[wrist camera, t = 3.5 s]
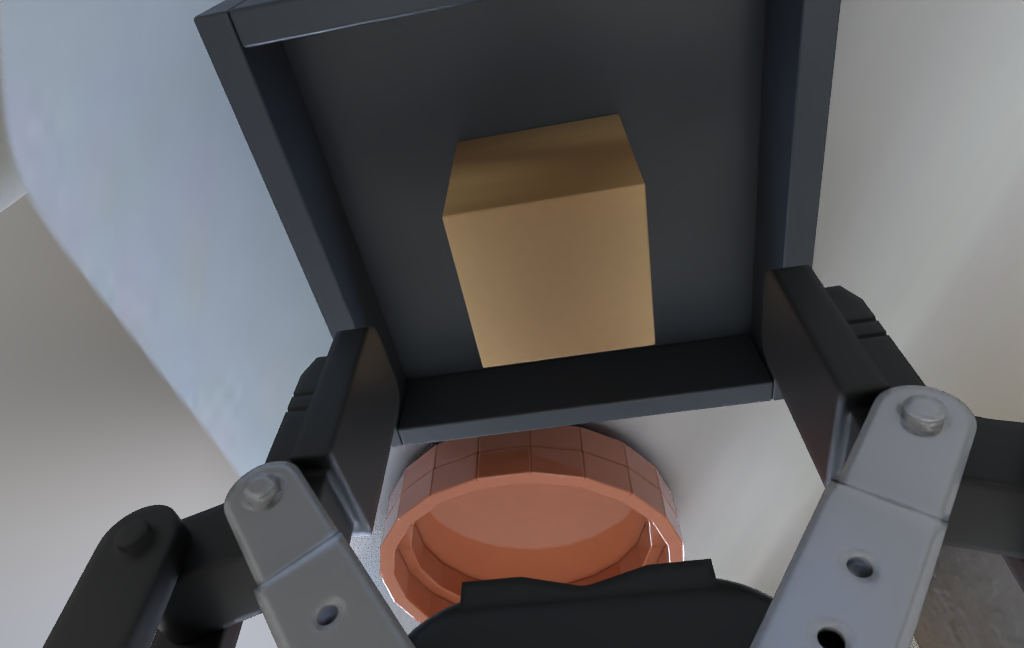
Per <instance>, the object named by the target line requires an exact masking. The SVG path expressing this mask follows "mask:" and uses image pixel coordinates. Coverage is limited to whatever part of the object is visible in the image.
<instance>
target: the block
mask: <svg viewBox="0 0 1024 648" xmlns="http://www.w3.org/2000/svg"><path fill="white" fill-rule="evenodd" d="M442 219H443V223H444V226H445V230H446V234H447V237H448V241H449V245H450V248H451V252H452V256H453V259H454V263H455V267H456V270H457V274H458V278H459V281H460V285H461V289H462V292H463V296H464V300H465V303H466V307H467V311H468V314H469V318H470V322H471V325H472V329H473V333H474V336H475V340H476V344H477V347H478V351H479V355H480V358H481V362H482V366H483V367H484V368H486V367H493V366H500V365H508V364H515V363H523V362H530V361H537V360H545V359H552V358H559V357H567V356H574V355H582V354H589V353H596V352H604V351H611V350H618V349H626V348H633V347H641V346H648V345H654V344H655V330H654V315H653V300H652V284H651V269H650V253H649V238H648V222H647V207H646V192H645V183H644V181H643V178H642V175H641V172H640V170H639V167H638V164H637V162H636V159H635V156H634V154H633V151H632V148H631V146H630V143H629V140H628V138H627V135H626V132H625V129H624V127H623V124H622V121H621V119H620V116H619V114H614V115H608V116H602V117H597V118H591V119H585V120H580V121H574V122H568V123H563V124H557V125H551V126H546V127H540V128H534V129H528V130H523V131H517V132H511V133H506V134H500V135H494V136H489V137H483V138H477V139H472V140H466V141H460V142H457V145H456V150H455V155H454V160H453V165H452V170H451V175H450V180H449V185H448V190H447V195H446V200H445V206H444V211H443V216H442Z"/></svg>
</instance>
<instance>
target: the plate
mask: <svg viewBox="0 0 1024 648" xmlns="http://www.w3.org/2000/svg"><path fill="white" fill-rule="evenodd" d="M682 561H684V544H683V539H682V535H681V531H680V527H679V523H678V519H677V514H676V510H675V506H674V501H673V497H672V494H671V492H670V490H669V488H668V487H667V485H666V483H665V482H664V480H663V478H662V477H661V475H660V473H659V472H658V470H657V468H656V467H655V466H654V465H653V464H652V463H650V462H649V461H648V460H646V459H645V458H644V457H642V456H641V455H640V454H638V453H637V452H635V451H634V450H633V449H631V448H630V447H629V446H627V445H626V444H625V443H623V442H622V441H619V440H616V439H614V438H611V437H608V436H605V435H602V434H600V433H597V432H594V431H591V430H588V429H586V428H583V427H577V426H560V427H552V428H544V429H536V430H528V431H519V432H511V433H503V434H495V435H487V436H479V437H471V438H463V439H455V440H447V441H445V442H442V443H440V444H438V445H435V446H434V447H432V448H431V449H430V450H429V451H427V452H426V453H425V454H423V455H422V456H421V457H420V458H418V459H417V460H416V461H414V462H413V463H412V464H411V465H409V466H408V467H407V468H406V469H405V471H404V472H403V474H402V476H401V478H400V479H399V481H398V483H397V485H396V486H395V488H394V490H393V492H392V493H391V495H390V499H389V504H388V509H387V514H386V519H385V525H384V530H383V535H382V540H381V545H380V576H381V578H382V580H383V582H384V584H385V586H386V587H387V589H388V591H389V593H390V595H391V597H392V599H393V600H394V602H395V603H396V604H398V605H399V606H400V607H401V608H402V609H403V610H405V611H406V612H407V613H408V614H409V615H411V616H412V617H413V618H414V619H415V620H416V621H418V622H420V623H422V622H424V621H425V620H426V619H428V618H429V617H431V616H432V615H434V614H436V613H437V612H439V611H441V610H443V609H445V608H447V607H449V606H451V605H453V604H456V603H459V602H460V598H461V586H462V582H468V581H479V580H490V579H500V578H511V577H527V578H533V579H540V580H546V581H553V582H559V583H566V584H572V585H580V586H584V585H590V584H593V583H596V582H599V581H602V580H605V579H608V578H611V577H613V576H616V575H619V574H622V573H625V572H628V571H631V570H634V569H637V568H639V567H642V566H645V565H650V564H661V563H671V562H682Z"/></svg>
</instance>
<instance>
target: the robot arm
mask: <svg viewBox="0 0 1024 648" xmlns="http://www.w3.org/2000/svg"><path fill="white" fill-rule="evenodd" d="M762 344H763V350H764V354H765V358H766V360H767V363H768V365H769V367H770V370H771V372H772V374H773V376H774V378H775V380H776V382H777V385H778V387H779V389H780V391H781V393H782V395H783V398H784V400H785V402H786V404H787V406H788V408H789V411H790V413H791V415H792V417H793V419H794V421H795V423H796V426H797V428H798V430H799V432H800V434H801V436H802V439H803V441H804V443H805V445H806V447H807V449H808V452H809V454H810V456H811V458H812V460H813V462H814V464H815V467H816V469H817V471H818V473H819V475H820V477H821V480H822V482H823V484H824V486H825V490H824V492H823V494H822V497H821V499H820V501H819V503H818V505H817V507H816V509H815V511H814V513H813V516H812V518H811V520H810V522H809V524H808V526H807V528H806V530H805V532H804V534H803V537H802V539H801V541H800V543H799V545H798V547H797V549H796V551H795V553H794V555H793V558H792V560H791V562H790V564H789V566H788V568H787V570H786V572H785V574H784V577H783V579H782V581H781V583H780V585H779V587H778V589H777V591H776V593H775V595H774V598H773V597H771V596H769V595H767V594H765V593H763V592H761V591H759V590H756V589H754V588H751V587H748V586H746V585H743V584H739V583H736V582H732V581H728V580H723V579H717V578H716V577H715V573H714V569H713V565H712V561H711V559H703V560H693V561H682V562H671V563H661V564H650V565H645V566H642V567H639V568H637V569H634V570H631V571H628V572H625V573H622V574H619V575H616V576H613V577H611V578H608V579H605V580H602V581H599V582H596V583H593V584H590V585H584V586H580V585H572V584H566V583H559V582H553V581H546V580H540V579H533V578H527V577H511V578H500V579H490V580H479V581H468V582H462V586H461V598H460V602H459V603H456V604H453V605H451V606H449V607H447V608H445V609H443V610H441V611H439V612H437V613H436V614H434V615H432V616H431V617H429V618H428V619H426V620H425V621H424V622H422V623H421V624H420V625H419V626H417V627H416V628H415V629H414V630H413V631H412V632H411V633H410V634H409V635H407V634H406V632H405V631H404V629H403V627H402V626H401V624H400V623H399V621H398V620H397V618H396V617H395V615H394V613H393V612H392V610H391V609H390V607H389V606H388V604H387V603H386V601H385V599H384V598H383V596H382V595H381V593H380V592H379V590H378V589H377V587H376V585H375V584H374V582H373V581H372V579H371V578H370V576H369V575H368V573H367V571H366V570H365V568H364V567H363V565H362V564H361V562H360V561H359V559H358V557H357V556H356V554H355V553H354V551H353V550H352V548H351V547H350V545H349V544H350V540H351V537H359V536H369V535H372V531H373V526H374V521H375V517H376V512H377V507H378V503H379V498H380V494H381V489H382V484H383V480H384V475H385V470H386V466H387V461H388V457H389V452H390V447H391V443H392V438H393V433H394V429H395V424H396V420H397V415H398V410H399V389H398V384H397V380H396V378H395V375H394V372H393V370H392V367H391V365H390V362H389V360H388V357H387V354H386V352H385V349H384V347H383V344H382V342H381V339H380V337H379V334H378V332H377V330H376V329H375V328H374V327H372V326H371V327H364V328H357V329H350V330H343V331H338V332H337V333H336V334H335V337H334V339H333V342H332V345H331V347H330V350H329V353H328V355H327V356H326V357H319V358H316V359H315V361H314V362H313V363H312V364H311V365H310V366H309V367H308V368H307V369H306V370H305V371H304V373H303V374H302V375H301V377H300V379H299V382H298V384H297V386H296V389H295V391H294V397H292V399H291V401H290V403H289V406H288V408H287V409H288V412H286V413H285V416H284V418H283V421H282V423H281V425H280V428H279V430H278V433H277V435H276V438H275V440H274V442H273V445H272V447H271V450H270V452H269V455H268V457H267V459H266V462H265V464H263V465H260V466H258V467H256V468H254V469H252V470H251V471H249V472H247V473H246V474H245V475H243V476H242V477H241V478H240V479H239V480H238V481H237V482H236V483H235V484H234V485H233V487H232V488H231V489H230V491H229V492H228V494H227V496H226V499H225V503H223V504H221V505H218V506H216V507H213V508H211V509H208V510H206V511H203V512H200V513H197V514H195V515H192V516H190V517H187V518H184V519H182V520H181V519H180V518H179V516H178V515H177V514H176V513H175V511H174V510H173V509H171V508H170V507H168V506H165V505H153V506H148V507H144V508H142V509H139V510H137V511H135V512H132V513H131V514H129V515H127V516H126V517H124V518H123V519H121V520H120V521H119V522H117V523H116V524H115V525H114V526H113V527H112V528H111V529H110V530H109V531H108V532H107V533H106V534H105V535H104V537H103V538H102V539H101V541H100V543H99V544H98V546H97V548H96V549H95V551H94V553H93V555H92V557H91V559H90V561H89V563H88V564H87V566H86V568H85V570H84V572H83V574H82V575H81V577H80V579H79V581H78V583H77V585H76V587H75V589H74V590H73V592H72V594H71V596H70V598H69V600H68V601H67V604H66V605H65V607H64V609H63V611H62V613H61V614H60V616H59V618H58V620H57V622H56V624H55V626H54V627H53V629H52V631H51V633H50V635H49V637H48V639H47V640H46V642H45V644H44V646H43V648H235V646H236V643H237V640H238V636H239V633H240V630H241V626H242V623H243V620H246V619H248V618H251V617H253V616H256V615H258V614H261V613H263V615H264V617H265V619H266V622H267V624H268V626H269V628H270V630H271V633H272V635H273V638H274V640H275V642H276V644H277V647H278V648H910V645H911V642H912V639H913V635H914V632H915V629H916V626H917V622H918V619H919V616H920V613H921V610H922V606H923V603H924V600H925V597H926V593H927V590H928V587H929V584H930V581H931V577H932V574H933V571H934V568H935V565H936V561H937V558H938V555H939V552H940V548H941V545H947V546H953V547H959V548H964V549H970V550H976V551H982V552H987V553H993V554H999V555H1002V557H1003V559H1004V560H1005V562H1006V564H1007V566H1008V567H1009V569H1010V571H1011V572H1012V574H1013V576H1014V577H1015V579H1016V581H1017V583H1018V584H1019V586H1020V588H1021V589H1022V591H1023V593H1024V423H1021V422H1012V421H1003V420H994V419H987V418H982V417H977V416H974V414H973V413H972V411H971V410H970V409H969V408H968V407H967V406H966V405H965V404H964V403H963V402H962V401H960V400H959V399H957V398H956V397H954V396H952V395H950V394H948V393H946V392H944V391H941V390H938V389H935V388H931V387H926V386H925V384H924V383H923V381H922V380H921V379H920V377H919V376H918V375H917V373H916V372H915V371H914V369H913V368H912V366H911V365H910V364H909V362H908V361H907V360H906V358H905V357H904V355H903V354H902V353H901V351H900V350H899V349H898V347H897V346H896V345H895V343H894V342H893V340H892V339H891V338H890V336H889V335H886V331H885V330H884V328H883V327H882V325H881V324H880V323H879V321H876V319H875V316H874V314H873V313H872V312H871V310H870V309H869V308H868V306H867V305H866V304H865V302H864V301H863V299H861V298H859V297H858V296H856V295H854V294H853V293H851V292H849V291H848V290H846V289H845V288H843V287H841V286H834V287H827V288H824V286H823V285H822V283H821V282H820V280H819V279H818V277H817V276H816V274H815V273H814V271H813V270H812V268H811V267H810V266H809V265H800V266H793V267H786V268H779V269H772V270H768V271H767V272H766V274H765V279H764V296H763V315H762ZM157 628H158V629H157ZM155 633H156V634H155ZM153 638H154V639H153ZM151 643H152V644H151Z"/></svg>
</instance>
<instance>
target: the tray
mask: <svg viewBox="0 0 1024 648" xmlns="http://www.w3.org/2000/svg"><path fill="white" fill-rule="evenodd" d="M840 3H841V0H225V1H223V2H221V3H220V4H218V5H216V6H214V7H212V8H211V9H209V10H207V11H205V12H203V13H201V14H200V15H198V16H196V17H195V18H194V22H195V24H196V26H197V29H198V31H199V33H200V36H201V38H202V40H203V42H204V45H205V47H206V49H207V52H208V54H209V56H210V58H211V61H212V63H213V65H214V68H215V70H216V72H217V75H218V77H219V79H220V81H221V84H222V86H223V88H224V91H225V93H226V95H227V97H228V100H229V102H230V104H231V107H232V109H233V111H234V113H235V116H236V118H237V120H238V123H239V125H240V127H241V129H242V132H243V134H244V136H245V139H246V141H247V143H248V145H249V148H250V150H251V152H252V155H253V157H254V159H255V162H256V164H257V166H258V168H259V171H260V173H261V175H262V178H263V180H264V182H265V184H266V187H267V189H268V191H269V194H270V196H271V198H272V200H273V203H274V205H275V207H276V210H277V212H278V214H279V216H280V219H281V221H282V223H283V226H284V228H285V230H286V232H287V235H288V237H289V239H290V242H291V244H292V246H293V248H294V251H295V253H296V255H297V258H298V260H299V262H300V265H301V267H302V269H303V271H304V274H305V276H306V278H307V281H308V283H309V285H310V287H311V290H312V292H313V294H314V297H315V299H316V301H317V303H318V306H319V308H320V310H321V313H322V315H323V317H324V319H325V322H326V324H327V326H328V329H329V331H330V333H331V335H332V338H333V339H334V337H335V334H336V333H337V332H338V331H343V330H350V329H357V328H364V327H371V326H372V327H374V328H375V329H376V330H377V332H378V334H379V337H380V339H381V342H382V344H383V347H384V349H385V352H386V354H387V357H388V360H389V362H390V365H391V367H392V370H393V372H394V375H395V378H396V380H397V384H398V389H399V410H398V415H397V420H396V424H395V429H394V433H393V438H392V443H391V447H399V446H403V445H405V446H406V445H414V444H422V443H431V442H439V441H447V440H455V439H463V438H471V437H479V436H487V435H495V434H503V433H511V432H519V431H528V430H536V429H544V428H552V427H560V426H568V425H576V424H584V423H592V422H600V421H608V420H617V419H625V418H633V417H641V416H649V415H657V414H665V413H673V412H681V411H689V410H697V409H705V408H714V407H722V406H730V405H738V404H746V403H754V402H762V401H770V400H771V399H773V400H780V399H784V398H783V395H782V393H781V391H780V389H779V387H778V385H777V382H776V380H775V378H774V376H773V374H772V372H771V370H770V367H769V365H768V363H767V360H766V358H765V354H764V350H763V344H762V315H763V296H764V279H765V274H766V272H767V271H768V270H772V269H779V268H786V267H793V266H800V265H809V266H810V267H811V268H812V263H813V254H814V245H815V235H816V226H817V217H818V207H819V198H820V189H821V180H822V170H823V161H824V152H825V142H826V133H827V124H828V115H829V105H830V96H831V87H832V77H833V68H834V59H835V50H836V40H837V31H838V22H839V12H840ZM614 114H619V116H620V119H621V121H622V124H623V127H624V129H625V132H626V135H627V138H628V140H629V143H630V146H631V148H632V151H633V154H634V156H635V159H636V162H637V164H638V167H639V170H640V172H641V175H642V178H643V181H644V183H645V192H646V207H647V222H648V238H649V253H650V269H651V284H652V300H653V315H654V330H655V344H654V345H648V346H641V347H633V348H626V349H618V350H611V351H604V352H596V353H589V354H582V355H574V356H567V357H559V358H552V359H545V360H537V361H530V362H523V363H515V364H508V365H500V366H493V367H486V368H484V367H483V366H482V362H481V358H480V355H479V351H478V347H477V344H476V340H475V336H474V333H473V329H472V325H471V322H470V318H469V314H468V311H467V307H466V303H465V300H464V296H463V292H462V289H461V285H460V281H459V278H458V274H457V270H456V267H455V263H454V259H453V256H452V252H451V248H450V245H449V241H448V237H447V234H446V230H445V226H444V223H443V219H442V216H443V211H444V206H445V200H446V195H447V190H448V185H449V180H450V175H451V170H452V165H453V160H454V155H455V150H456V145H457V142H460V141H466V140H472V139H477V138H483V137H489V136H494V135H500V134H506V133H511V132H517V131H523V130H528V129H534V128H540V127H546V126H551V125H557V124H563V123H568V122H574V121H580V120H585V119H591V118H597V117H602V116H608V115H614ZM391 447H390V448H391Z"/></svg>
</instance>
